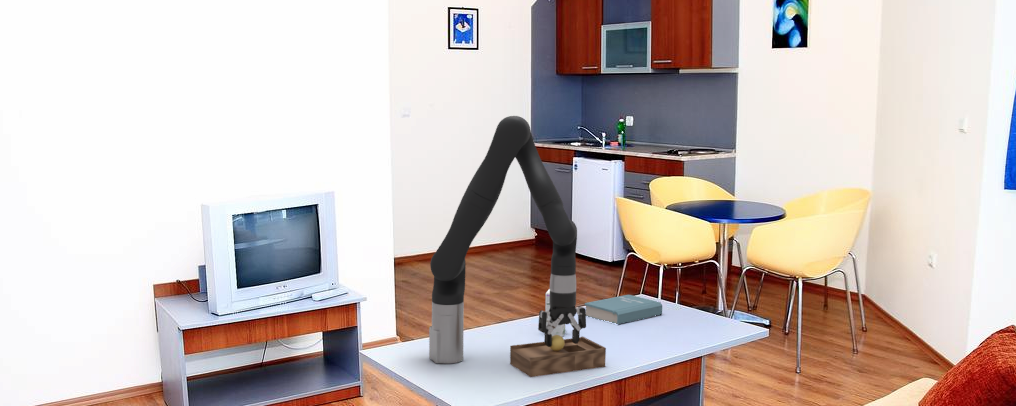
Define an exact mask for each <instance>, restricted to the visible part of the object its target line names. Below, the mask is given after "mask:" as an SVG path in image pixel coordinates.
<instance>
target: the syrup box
mask: <svg viewBox="0 0 1016 406" xmlns="http://www.w3.org/2000/svg"><path fill="white" fill-rule="evenodd" d="M544 306H545V307H544V308H545V310H544V311H549V309H550V288H548V290H547V291H546V292H545V305H544ZM550 318H551V317H550V316H548V318H547V321H546V326H547V323H548V321H549V320H550ZM553 323H554V322H553ZM551 334H552V336H553V335H560V336H561V337H563V338H564V335H565V334H566V324H563V325H557V327H556V328H554V330H553V331H552V333H551Z"/></svg>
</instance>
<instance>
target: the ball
mask: <svg viewBox="0 0 1016 406" xmlns="http://www.w3.org/2000/svg"><path fill="white" fill-rule="evenodd" d="M564 344H565V342H564V336H563V337H561V336H560V335H553V336H552V346H551V347H550V348H551V349H552V350H554V351H560V350H561V349H562V348H563V347H564Z"/></svg>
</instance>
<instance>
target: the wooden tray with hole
mask: <svg viewBox="0 0 1016 406" xmlns="http://www.w3.org/2000/svg"><path fill="white" fill-rule="evenodd" d="M563 339H564V338H563ZM564 342H565V344H564V347H563V348H562V349H561V350H560V351H554V350H552V349H551V348H550V347H548V346H546V344H545V342H544V341H539V342H531V343H530V342H529V343H522V344H513V345H509V346H510V348H509V349H510V350H509V351H510V352H509V354H510V355H509V358H510V359H509V364H510V365H511V366H513V367H514V368H515V369H516V370H519V371H520V372H522V373H523V374H525V375H527V376H528V377H530V378H533V377H534V378H535V377H541V376H548V375H555V374H556V375H557V374H562V373H563V374H564V373H571V372H577V371H584V370H592V369H600V368H606V359H607V358H606V356H607V355H606V354H607V352H606V351H607V350H606V349H607V348H606V347H605V346H603V345H601V344H599V343H597V342H595V341H592V340H591V339H589V338H587V337H585V336H582V335H581V336H580V337H579V341H578V344H574V343H573V342H572V338H565V339H564Z"/></svg>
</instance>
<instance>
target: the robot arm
mask: <svg viewBox="0 0 1016 406" xmlns="http://www.w3.org/2000/svg"><path fill="white" fill-rule="evenodd" d="M530 126H531V125H530V124H529V122H528V121H527V120H526V119H525V118H523V117H521V116H519V115H510V116H509V115H508V116H506V117H504V118H503V119H501V120H500V121H499V122H498V124H497V125H496V128H495V132H494V135H493V137H492V139H491V143H490V145H489V148H488V151H487V152H486V154H485V157H484V159H483V160H482V162H481V163H480V164H479V166H478V168H477V170H476V171H475V173H474V175H473V176H472V177H471V180H470V182H469V184H467V188H466V189H465V191H464V193H463V194H462V195H463V196H462V197H461V199H460V202H459V204H458V206H457V209H456V211H455V214H454V216H453V219H452V223H451V225H450V227H449V229H448V232H447V233H446V235H445V237H444V238H443V240H442V241H441V243H440V245H439V246H438V247H437V249H436V251H435V252H434V254H433V255H432V256H431V258H430V265H429V266H430V270H431V271H430V272H431V273H432V275H433V287H432V293H431V325H430V326H429V328H428V329H429V332H428V334H429V335H428V336H429V339H428V342H429V344H428V345H429V346H428V347H429V350H428V351H429V353H428V357H429V359H430V360H431V361H432V362H434V363H435V364H456V363H460V362H462V361H463V360H464V324H465V323H464V316H465V313H464V311H465V310H464V308H465V306H464V304H465V299H464V298H465V291H466V267H467V266H466V257H467V254H468V251H469V249H470V247H471V245H472V243H473V241H474V239H475V238H476V236H477V235H478V234H479V232H480V231H481V229H482V227H483V226H484V225H485V223H487V221H488V219H489V217H490V215H491V214H492V211H493V209H494V208H495V205H496V203H497V201H498V200H499V197H500V196H501V192H502V190H503V187H504V184H505V180H506V176H507V175H508V174H507V173H508V171H509V169H510V167H511V164H512V163H513V161H514V160H516V161H517V163H518V165H519V167H520V170H521V171H522V173H523V176H524V179H525V182H526V185H527V186H528V187H527V188H528V191H529V192H530V195H531V196H532V199H533V201H534V203H535V205H536V206H537V209H538V210H539V212H540V214H541V216H542V218H543V221H544V225H545V228H546V230H547V233H548V235H549V237H550V238H551V240H552V255H551V261H550V278H549V289H550V309H549V311H545V310H542V309H541V310H539V312H538V313H539V314H538V325H537V326H538V328H537V329H538V331H539V332H541V333H542V334H543V333H544V337H543V338H544V341H543V342H545V344H546V346H548V347H551V346H552V334H551V333H552V331H553V330H554V328H556V327H557V325H563V324H565V325H570V326H571V327H572V331H571V334H572V336H571V337H572V342H573V343H574V344H578V341H579V337H581V336H580V333H581V332H580V331H581V330H582V329H585V328H586V327H587V316H586V307H583V306H578V307H576V305H577V277H576V271H577V270H576V267H577V266H576V265H577V262H576V261H577V260H576V252H577V242H578V241H577V240H578V227H577V224H576V223H575V222H574V221H573V220H572V219H570V218H569V217H568V215H567V213H566V210H565V207H564V203H563V200H562V197H561V196H560V194H559V192H558V190H557V188H556V185H555V183H554V182H553V180H552V178H551V176H550V174H549V173H548V171H547V169H546V168H545V165H544V164H543V160H542V159H541V157H540V155H539V152H538V149H537V147H536V144H535V141H534V137H533V135H532V130H531V127H530ZM576 314H577V320H576V319H575V316H576ZM548 316H550V317H551V318H550V320H549V321H548V323H547V326H546V321H547V318H548ZM553 322H554V323H553Z"/></svg>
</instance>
